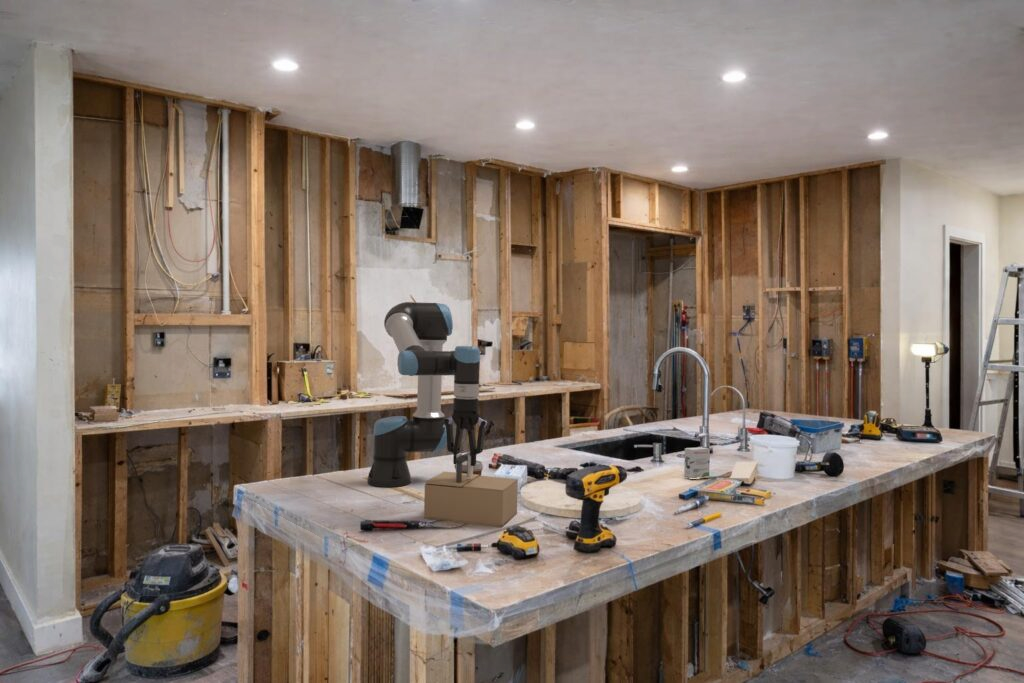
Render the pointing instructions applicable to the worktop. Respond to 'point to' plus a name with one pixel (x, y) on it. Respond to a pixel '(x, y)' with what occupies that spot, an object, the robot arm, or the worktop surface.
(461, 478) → the flap
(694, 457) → the ink box
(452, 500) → the carton
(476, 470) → the disposable coffee cup
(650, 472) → the worktop surface
